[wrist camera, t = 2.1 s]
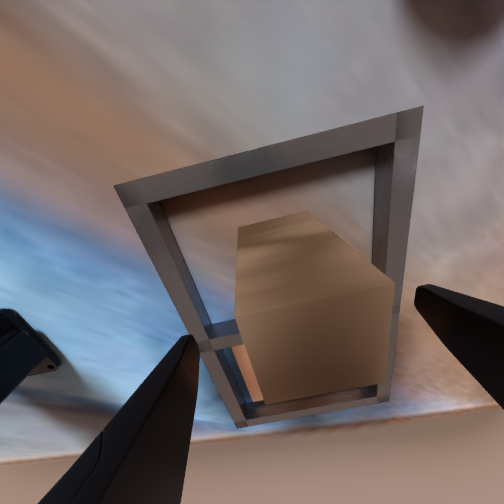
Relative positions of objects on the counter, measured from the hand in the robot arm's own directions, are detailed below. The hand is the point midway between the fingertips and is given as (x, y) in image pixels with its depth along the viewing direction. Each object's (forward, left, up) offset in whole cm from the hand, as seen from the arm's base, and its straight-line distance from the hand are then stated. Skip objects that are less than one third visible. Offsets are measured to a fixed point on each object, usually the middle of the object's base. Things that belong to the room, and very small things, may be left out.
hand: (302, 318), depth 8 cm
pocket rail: (0, -6, -6) cm, 8 cm away
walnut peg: (0, 0, -6) cm, 6 cm away
